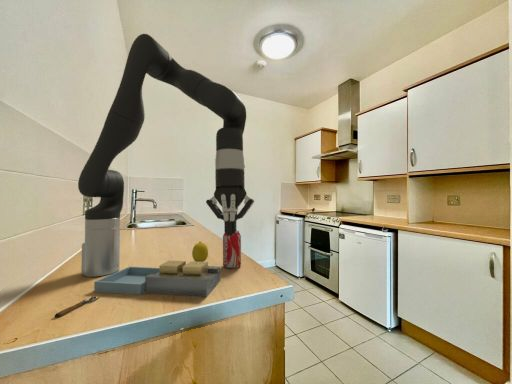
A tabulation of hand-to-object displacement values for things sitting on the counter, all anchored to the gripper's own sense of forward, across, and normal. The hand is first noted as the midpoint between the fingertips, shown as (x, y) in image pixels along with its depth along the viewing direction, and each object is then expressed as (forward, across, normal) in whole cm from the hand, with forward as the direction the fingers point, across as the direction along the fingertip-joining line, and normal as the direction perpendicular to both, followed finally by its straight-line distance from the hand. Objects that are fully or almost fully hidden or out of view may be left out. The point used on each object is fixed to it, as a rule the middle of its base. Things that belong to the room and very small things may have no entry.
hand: (230, 235), depth 55 cm
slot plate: (+14, -13, 0) cm, 19 cm away
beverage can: (+14, -5, +18) cm, 23 cm away
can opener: (+14, -31, -13) cm, 36 cm away
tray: (+14, -28, 0) cm, 31 cm away
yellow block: (+11, -10, 0) cm, 14 cm away
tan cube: (+11, -16, 0) cm, 19 cm away
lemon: (+14, -17, +19) cm, 29 cm away
